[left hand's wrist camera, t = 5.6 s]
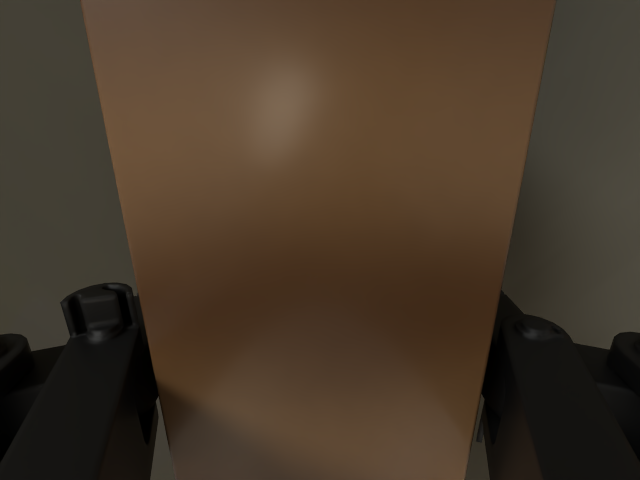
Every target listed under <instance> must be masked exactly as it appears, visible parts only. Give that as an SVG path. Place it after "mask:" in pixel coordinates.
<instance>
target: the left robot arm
mask: <svg viewBox="0 0 640 480" xmlns="http://www.w3.org/2000/svg"><path fill="white" fill-rule="evenodd" d="M60 303H61V306H62V310H63V313H64V317H65V320H66V323H67V327H68V330H69V333H70V339H69V340H68V342H67V344H66V345H63V346H58V347H53V348H47V349H42V350H37V351H31V349H30V346H29V343H28V341H27V338H25V337H24V336H22V335H20V334H3V335H0V480H150V476H151V469H152V461H153V454H154V447H155V439H156V432H157V425H158V418H159V417H158V410H157V405H156V400H157V398H158V396H159V394H158V389H157V384H156V379H155V374H154V369H153V364H152V359H151V354H150V349H149V344H148V339H147V334H146V329H145V324H144V319H143V314H142V309H141V304H140V299H139V294H138V293H137V296H133V292H132V288H131V287H130V286H128V285H127V284H122V283H103V284H98V285H93V286H89V287H86V288H83V289H81V290H78V291H76V292H74V293H72V294H70V295H68V296H67V297H66V298H65V299H64V300H62V301H61V302H60ZM481 393H482V395H483V397H484V399H485V400H484V405H483V410H482V415H481V419H480V424H479V429H478V433H477V440H476V441H477V442H482V438H483V435H484V439H485V446H486V453H487V460H488V468H489V475H490V480H640V333H636V332H624V333H619V334H618V335H616V336H615V337H614V339H613V342H612V345H611V348H610V350H607V349H602V348H597V347H591V346H586V345H580V344H576V343H573V341H572V340H571V338H570V336H569V335H568V334H567V333H566V332H565V331H564V329H562V328H561V327H559V326H558V325H556V324H554V323H553V322H550V321H548V320H545V319H543V318H540V317H536V316H532V315H526V314H524V313H523V312H522V311H521V310H520V309H519V308H518V307H517V306H516V305H515V304H514V303H513V302H512V301H511V300H510V299H509V298H508V297H507V296H506V295H504V292H503V291H502V290H501V293H500V298H499V303H498V309H497V314H496V319H495V324H494V330H493V335H492V340H491V345H490V351H489V356H488V361H487V366H486V372H485V377H484V382H483V387H482V392H481Z"/></svg>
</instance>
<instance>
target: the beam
mask: <svg viewBox="0 0 640 480" xmlns="http://www.w3.org/2000/svg"><path fill="white" fill-rule="evenodd" d="M80 2H81V7H82V12H83V17H84V22H85V27H86V32H87V37H88V42H89V48H90V53H91V58H92V63H93V68H94V73H95V78H96V83H97V88H98V93H99V98H100V103H101V108H102V113H103V118H104V123H105V128H106V133H107V138H108V143H109V148H110V153H111V158H112V163H113V168H114V173H115V178H116V183H117V188H118V193H119V198H120V203H121V208H122V213H123V218H124V223H125V229H126V234H127V239H128V244H129V249H130V254H131V259H132V264H133V269H134V274H135V279H136V284H137V289H138V294H139V299H140V304H141V309H142V314H143V319H144V324H145V329H146V334H147V339H148V344H149V349H150V354H151V359H152V364H153V369H154V374H155V379H156V384H157V389H158V394H159V399H160V404H161V410H162V415H163V420H164V425H165V430H166V435H167V440H168V445H169V450H170V455H171V460H172V465H173V470H174V475H175V480H465V476H466V471H467V466H468V461H469V455H470V450H471V445H472V440H473V434H474V429H475V424H476V419H477V413H478V408H479V403H480V398H481V392H482V387H483V382H484V377H485V372H486V366H487V361H488V356H489V351H490V345H491V340H492V335H493V330H494V324H495V319H496V314H497V309H498V303H499V298H500V293H501V288H502V283H503V277H504V272H505V267H506V262H507V256H508V251H509V246H510V241H511V235H512V230H513V225H514V220H515V214H516V209H517V204H518V199H519V194H520V188H521V183H522V178H523V173H524V167H525V162H526V157H527V152H528V146H529V141H530V136H531V131H532V125H533V120H534V115H535V110H536V105H537V99H538V94H539V89H540V84H541V78H542V73H543V68H544V63H545V57H546V52H547V47H548V42H549V36H550V31H551V26H552V21H553V16H554V10H555V5H556V0H80Z"/></svg>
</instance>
